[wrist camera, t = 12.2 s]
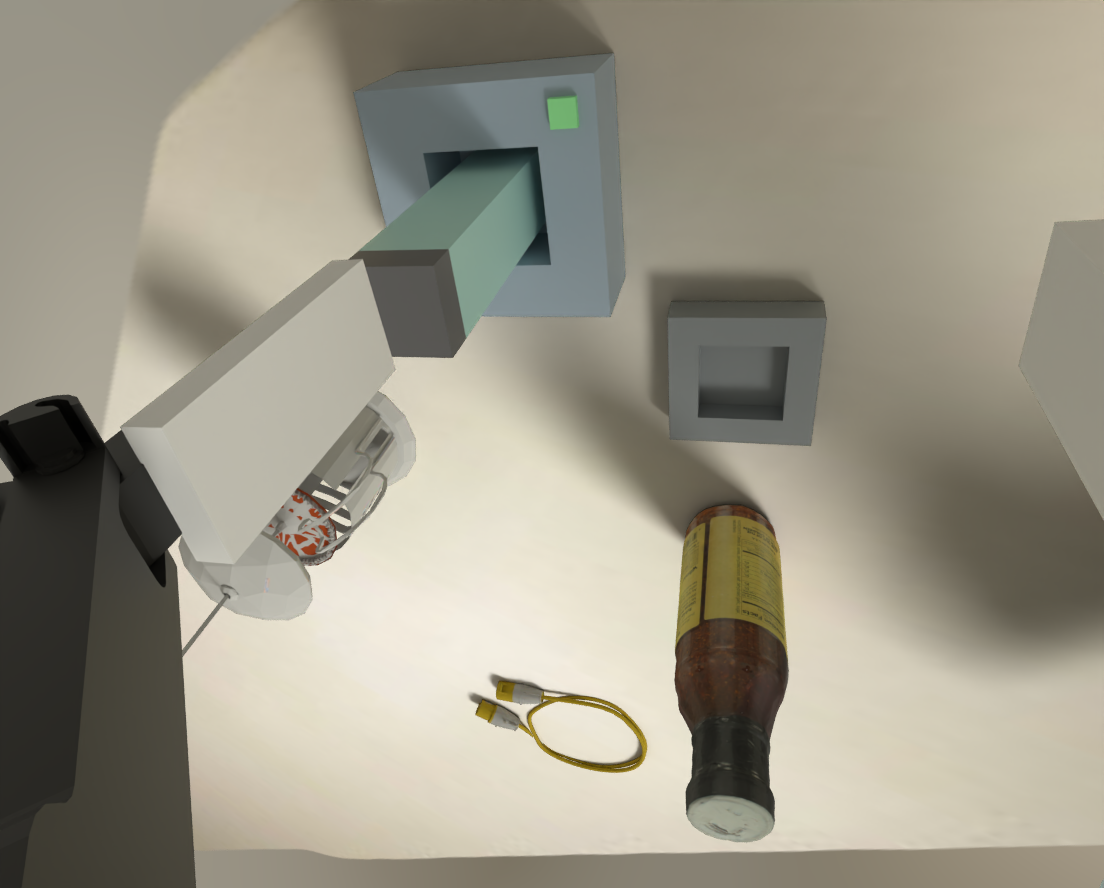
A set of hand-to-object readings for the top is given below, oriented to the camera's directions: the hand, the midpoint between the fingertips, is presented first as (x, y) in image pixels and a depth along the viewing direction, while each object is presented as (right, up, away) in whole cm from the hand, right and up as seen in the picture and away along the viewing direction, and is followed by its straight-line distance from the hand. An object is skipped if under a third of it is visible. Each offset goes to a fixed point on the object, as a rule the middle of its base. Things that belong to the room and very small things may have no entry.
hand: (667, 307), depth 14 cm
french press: (-16, -2, +37) cm, 40 cm away
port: (-4, +11, +24) cm, 26 cm away
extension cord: (-1, -28, +53) cm, 60 cm away
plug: (-4, +11, +23) cm, 26 cm away
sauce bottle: (+10, -9, +35) cm, 37 cm away
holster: (+9, +2, +27) cm, 28 cm away
